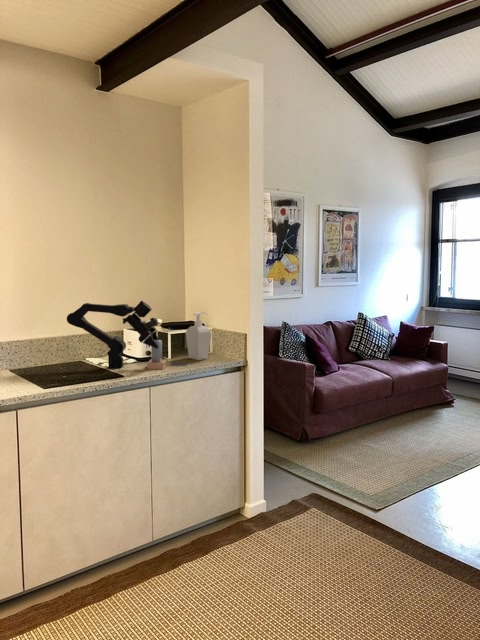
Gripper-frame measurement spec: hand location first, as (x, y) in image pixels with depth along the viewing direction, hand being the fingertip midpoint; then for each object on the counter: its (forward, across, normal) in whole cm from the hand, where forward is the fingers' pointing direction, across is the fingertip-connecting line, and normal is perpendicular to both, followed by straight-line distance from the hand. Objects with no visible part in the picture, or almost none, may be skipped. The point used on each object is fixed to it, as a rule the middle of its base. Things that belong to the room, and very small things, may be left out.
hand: (159, 346), depth 263 cm
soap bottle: (+20, +26, -4) cm, 33 cm away
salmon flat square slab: (+7, 0, +9) cm, 11 cm away
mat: (+14, +8, +2) cm, 16 cm away
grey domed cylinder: (+4, 0, +6) cm, 8 cm away
